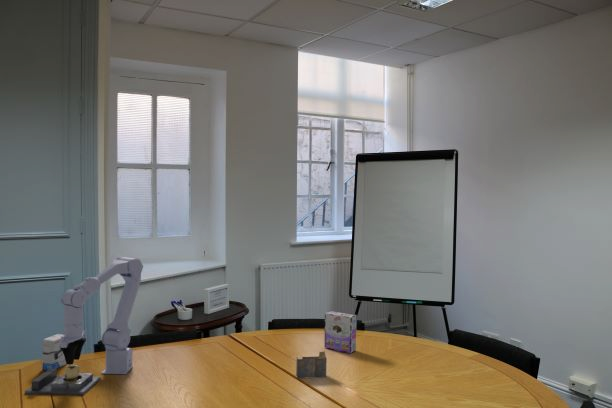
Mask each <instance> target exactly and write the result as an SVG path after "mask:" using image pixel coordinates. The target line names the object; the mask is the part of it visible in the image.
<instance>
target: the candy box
mask: <svg viewBox="0 0 612 408" xmlns="http://www.w3.org/2000/svg"><path fill="white" fill-rule="evenodd" d="M357 318H358V317H357V314H351V313H347V312H346V313H345V312H339V311H333V310H329V311H327V312H325V313H324V347H325V348H329V349H328V350H331V349H334V350H333V351H335V350H338V351H337V352H340V351H342V352H341V353H345V352H347V353H346V354H350V353H351V354H352V352H353V353H354V352H356V351H357V323H358V322H357ZM324 347H323V348H324ZM325 348H324V349H325ZM355 350H356V351H355Z"/></svg>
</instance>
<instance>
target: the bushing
mask: <svg viewBox="0 0 612 408" xmlns="http://www.w3.org/2000/svg"><path fill="white" fill-rule="evenodd" d="M79 371H80V366H79V365H78V364H68V365H66V366H65V367H64V374H65V381H76V380H79V373H80V372H79Z"/></svg>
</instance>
